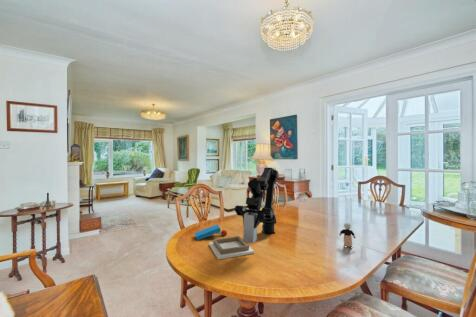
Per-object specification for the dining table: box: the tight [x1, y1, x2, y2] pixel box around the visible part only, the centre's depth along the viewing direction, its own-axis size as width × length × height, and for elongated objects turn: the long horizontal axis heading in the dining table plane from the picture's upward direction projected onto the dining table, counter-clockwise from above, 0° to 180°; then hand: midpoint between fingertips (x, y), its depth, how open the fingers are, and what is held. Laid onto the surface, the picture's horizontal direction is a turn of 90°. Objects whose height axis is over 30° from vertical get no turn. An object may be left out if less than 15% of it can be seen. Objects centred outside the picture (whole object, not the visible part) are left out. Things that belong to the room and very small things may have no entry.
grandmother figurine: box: [338, 222, 357, 248], centre depth 117 cm, size 8×4×13 cm, turn 71°
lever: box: [194, 224, 228, 241], centre depth 132 cm, size 7×7×18 cm
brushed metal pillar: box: [242, 212, 258, 244], centre depth 108 cm, size 5×5×13 cm
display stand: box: [208, 235, 255, 260], centre depth 115 cm, size 18×18×3 cm
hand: (249, 227), depth 107 cm, fingers closed on brushed metal pillar, 5 cm apart
